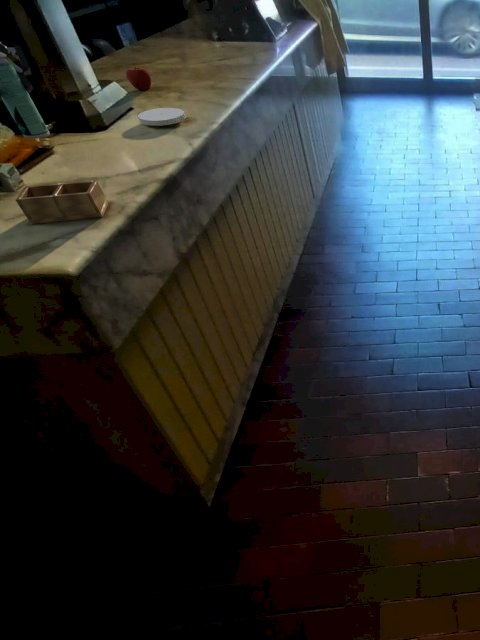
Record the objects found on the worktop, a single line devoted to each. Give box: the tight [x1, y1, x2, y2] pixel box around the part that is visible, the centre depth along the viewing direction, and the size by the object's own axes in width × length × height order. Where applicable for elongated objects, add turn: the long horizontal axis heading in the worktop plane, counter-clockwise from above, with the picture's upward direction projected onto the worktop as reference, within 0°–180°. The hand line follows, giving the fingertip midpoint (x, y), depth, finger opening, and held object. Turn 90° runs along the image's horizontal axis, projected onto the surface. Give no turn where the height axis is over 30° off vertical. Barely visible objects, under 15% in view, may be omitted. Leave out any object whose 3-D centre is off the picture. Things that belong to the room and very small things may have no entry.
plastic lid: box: [137, 107, 187, 127], centre depth 174 cm, size 14×14×2 cm
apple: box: [125, 66, 152, 91], centre depth 198 cm, size 8×8×8 cm
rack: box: [15, 180, 109, 225], centre depth 124 cm, size 15×8×6 cm, turn 109°
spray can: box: [0, 52, 51, 140], centre depth 124 cm, size 6×6×20 cm
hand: (14, 92), depth 124 cm, fingers closed on spray can, 5 cm apart
